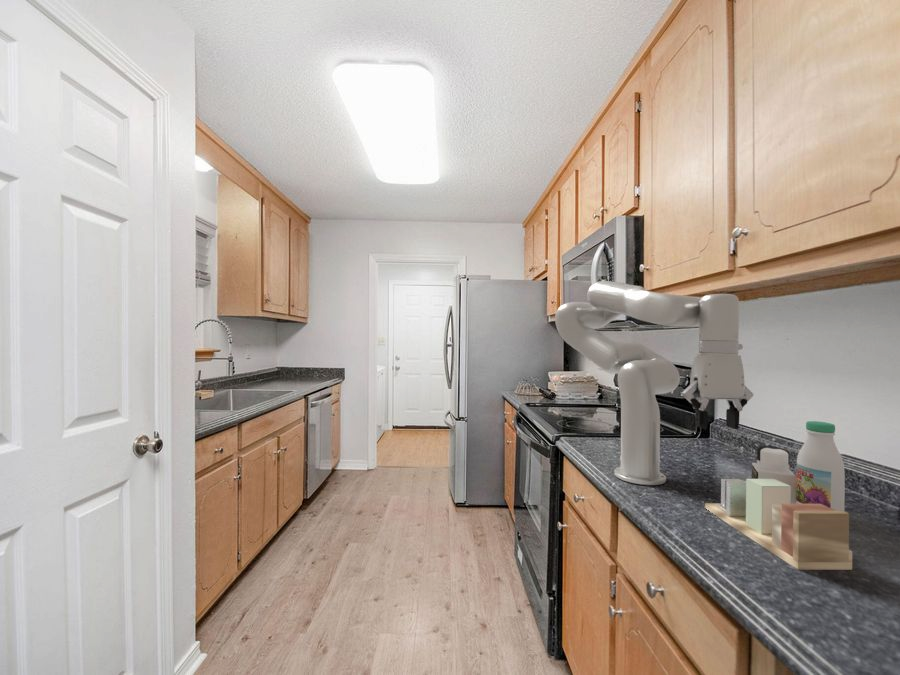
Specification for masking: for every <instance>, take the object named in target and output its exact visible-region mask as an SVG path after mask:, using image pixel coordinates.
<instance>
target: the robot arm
mask: <svg viewBox="0 0 900 675" xmlns="http://www.w3.org/2000/svg"><path fill="white" fill-rule="evenodd" d="M586 295H587V296H586V297H587V300H588V302H586V301H585V302H580V301H571V302H567V303H566V302H565V303H563V304H562V305H560V306H558V308H557V310H556V312H555V315H554V319H555V322H554V323H555V326H556V329H557V332H558V335H559V336H560V337H561V339H562V340H563V341H564V342H565V343H566V344H567V345H569V346H571V347H572V349H574V350H575V351H577V352H578V353H580V354H581V355H583V356H584V357H585V358H587V359H588V360H589V361H590V362H591V363H593V364H594V365H596V366H597V367H599V369H601V370H602V371H604V372H606V373H608V374H613V375H617V385H618V390H619V398H620V456H619V459H620V466H618V467H615V469H614V476H615V477H616V478H618V479H620V480H622V481H624V482H627V483H632V484H635V485H642V486H643V485H645V486H658V485H659V486H660V485H662V484H665V483H666V481H667V476H666V475H665V474H664V473H663V472H661V471H660V465H661V464H660V461H661V460H660V455H661V454H660V451H661V450H660V447H661V442H660V441H661V412H660V411H661V410H660V407H659V403H658V400H657V398H656V395H665V394H669V393H671V392H673V391H674V390H676V389H677V388H678V386H679V385H680V381H681V376H680V373H679V369H677V367H676V366H675V364H673V362H672V361H669V360H668V359H667V358H665V357H663V356H662V355H660V354H659V353H657V352H655V351H654V350H652V349H650V348H649V347H647V346H645V345H644V344H642V343H639V342H635V341H630V340H629V341H628V340H625V341H622V340H614V339H612V338H610V337H608V336H606V335H604V333H602V332H600V331H599V330H598V329H601V328H604V327H605V326H607V325H608V324H609V323H611V322H612V321H614V320H615V319H616V318H618V317H620V316H621V315H623V316H627V317H631V318H634V319H636V320H639V321H643V322H647V323H651V324H654V325H659V326H665V327H675V328H676V327H677V328H679V327H682V328H696V327H697V328H698V330H699V331H698V332H699V333H698V353H695V354H694V356H693V361H692V365H691V371H690V378H689V379H690V381H689V385H688V386H687V387H686V388H685V389H684V390H683V391H682V392H681V395H682V397H683V398H685V399H686V401H688V403H689V404H690V406H692V408H693V410H694V409H695V410H694V412H695V413H694V414H695V416H694V418H695V419H694V420H695V426H696V427H698V428H701V429H705V430H707V429H708V427H709V426H708V424H709V422H708V421H709V420H708V419H709V417H708V416H709V414H708V413H709V412H708V410H706V408H707V407H708V405H709V402H710V400H725V402H726V403H727V405H728V408H727V409H726V413H725V418H726V420H725V425H726V427H728V428H731V429H735V430H739V428H740V412H741V411H743V408H744V407H745V406H746V405H747V404H748V402H749V401H750V400H751V399H752V398H753V396H754V393H753V391H751V390H750V389H749V387H747V386H746V385H745V371H744V365H743V364H744V363H743V360H742V356H741V355H739V350H740V351H741V350H743V347H744V346H743V344H742V343H740V342H739V332H740V331H739V330H740V329H739V328H740V326H739V324H740V317H739V316H740V299H739V297H738V296H737V295H736V294H733V293H714V294H713V293H712V294H706V295H703V296H691V295H681V294H670V293H662V292H657V291H651V290H646V288H644V286H641V285H634V284H628V283H624V282H618V281H611V280H610V281H609V280H601V281H597V282H594V283H593V284H592V285H590V287H589V288H588V289H587V294H586ZM695 397H696V398H695Z"/></svg>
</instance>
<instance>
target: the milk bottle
mask: <svg viewBox="0 0 900 675" xmlns="http://www.w3.org/2000/svg"><path fill="white" fill-rule="evenodd" d="M805 429H806V430H805V432H806V433H807V434H806V435H807V436H806V439H805V441H804V442H803V445H801V447H800V449H799V451H798V453H797V457H796V468H795V470H796V471H795V476H796V498H795V504H822V505H825V506H827V507H829V508H831V509H834V510H836V511H845V507H846V506H845V501H846V500H845V496H846V494H845V493H846V491H845V489H846V488H845V487H846V482H845V481H846V480H845V479H846V478H845V475H846V474H845V465H844V464H845V463H844V461H843V458H842V455H841V453H840V451H839V450H838V448H837V446H836V443H835V439H834V436H835V435H836V434H835V432H836V425H835V424H834V423H830V422H825V421H815V420H811V421H806V422H805Z"/></svg>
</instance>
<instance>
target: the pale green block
mask: <svg viewBox="0 0 900 675" xmlns="http://www.w3.org/2000/svg"><path fill="white" fill-rule="evenodd" d="M745 481H746V525H747V526H749V527H750V528H752V529H754V530H755V531H757V532H759V533H760V534H772V505H782V504H791V486H789V485H787V484H785V483H782V482H780V481H778V480H775V479H752V478H746V480H745Z"/></svg>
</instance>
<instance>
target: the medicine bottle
mask: <svg viewBox="0 0 900 675" xmlns="http://www.w3.org/2000/svg"><path fill="white" fill-rule="evenodd" d="M756 448H757V447H756ZM751 479H775V480H778V481H780V482H782V483H785V484H787V485H789V486H791V504H796V473H795V474H794V472H793V471H792V470H791V469H790V452H789V451H788V450H787V449H785V448H782V447H778V446H773V445H762V446H758V448H757V449H756V462H752V463H751Z"/></svg>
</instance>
